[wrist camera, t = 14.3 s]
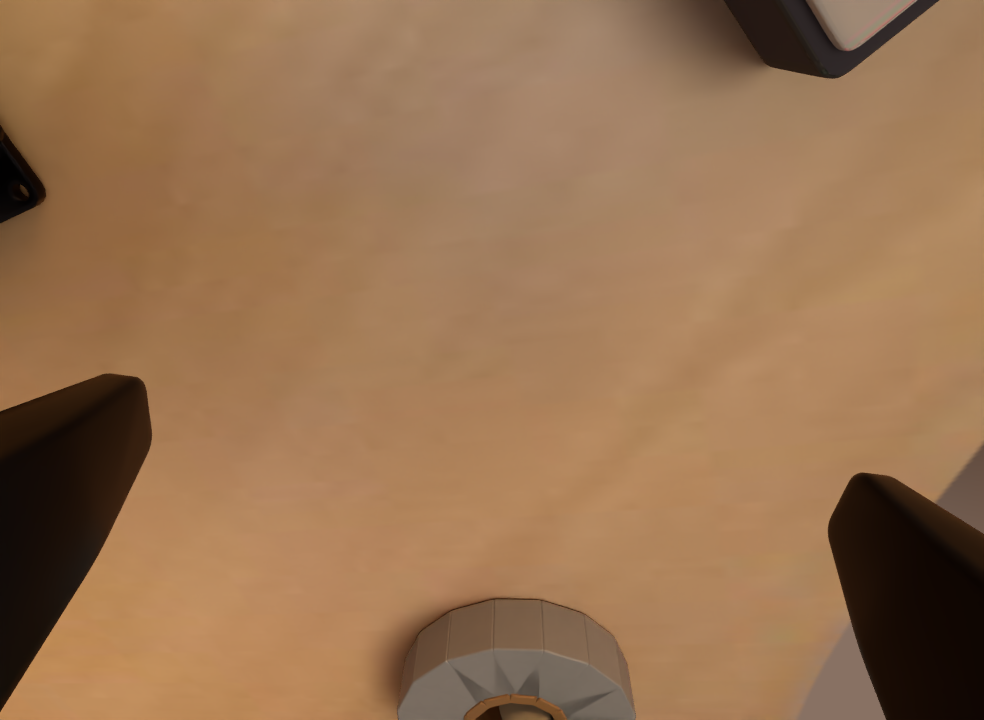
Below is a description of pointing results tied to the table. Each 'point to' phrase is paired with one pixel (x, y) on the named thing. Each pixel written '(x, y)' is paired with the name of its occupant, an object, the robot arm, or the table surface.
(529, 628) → the tape
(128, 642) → the table surface
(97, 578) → the table surface
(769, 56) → the calculator
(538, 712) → the pencil
